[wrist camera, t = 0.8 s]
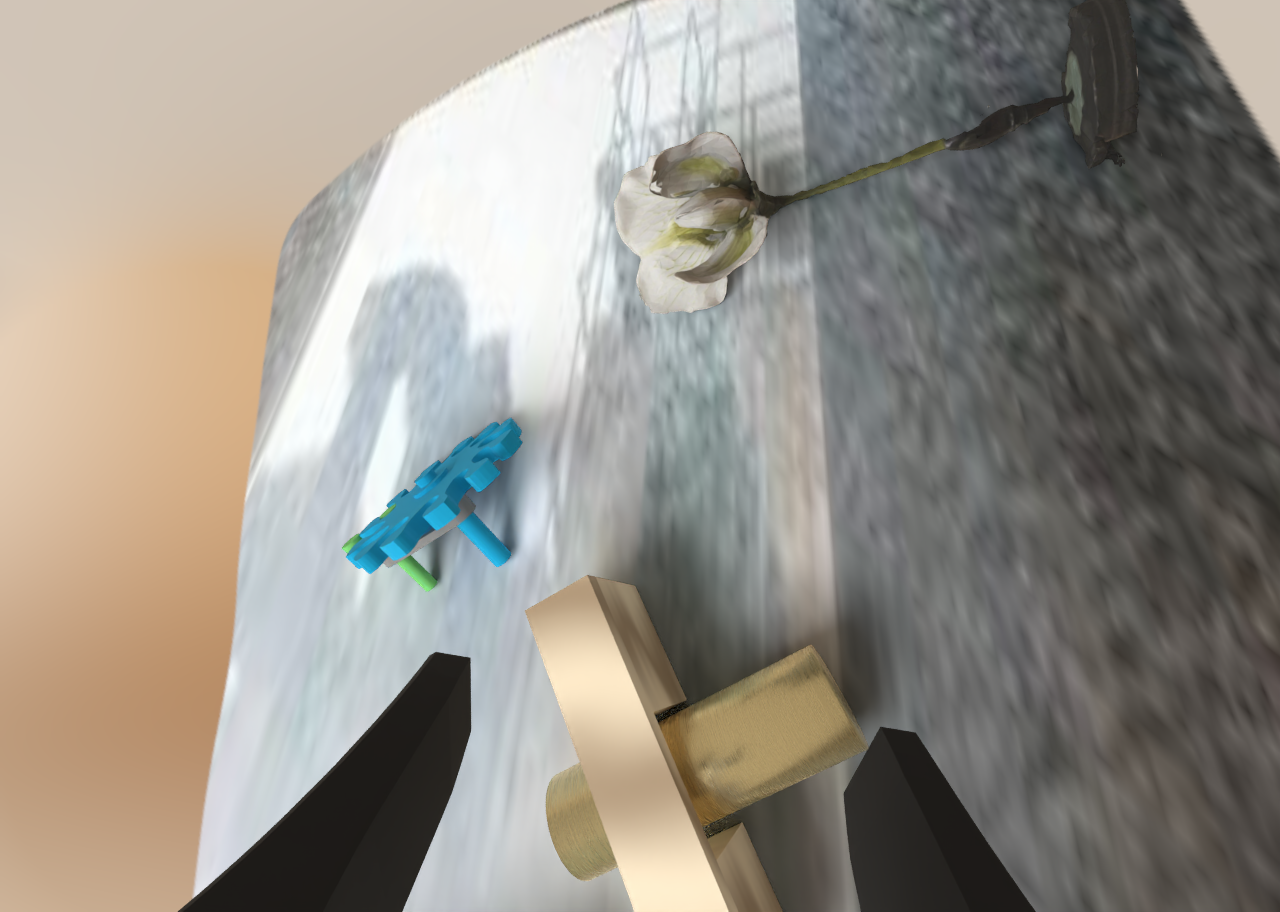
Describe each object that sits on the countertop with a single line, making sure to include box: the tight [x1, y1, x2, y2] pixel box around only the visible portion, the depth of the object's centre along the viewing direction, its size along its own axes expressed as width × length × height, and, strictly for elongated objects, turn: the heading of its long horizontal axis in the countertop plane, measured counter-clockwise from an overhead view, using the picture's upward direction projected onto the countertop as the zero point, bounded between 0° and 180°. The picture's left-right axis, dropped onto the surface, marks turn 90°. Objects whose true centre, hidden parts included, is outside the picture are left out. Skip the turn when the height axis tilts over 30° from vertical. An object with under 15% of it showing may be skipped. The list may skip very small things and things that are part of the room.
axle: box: [546, 645, 869, 881], centre depth 24 cm, size 12×4×4 cm, turn 116°
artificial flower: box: [614, 0, 1162, 314], centre depth 27 cm, size 9×22×10 cm, turn 91°
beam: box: [525, 575, 783, 912], centre depth 23 cm, size 16×3×5 cm, turn 26°
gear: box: [342, 418, 523, 591], centre depth 30 cm, size 11×6×10 cm
